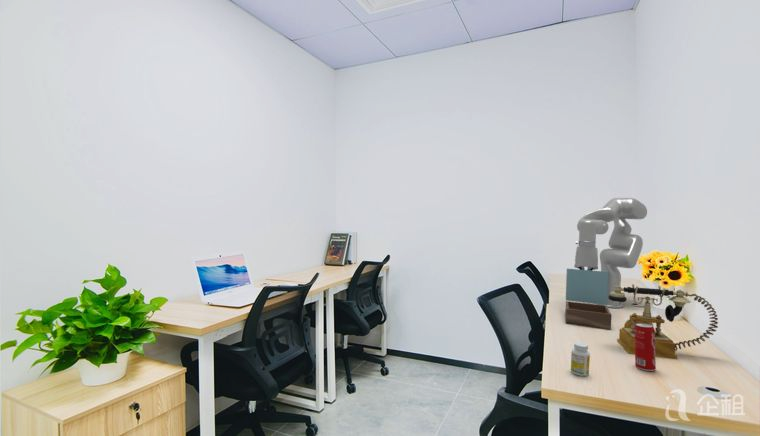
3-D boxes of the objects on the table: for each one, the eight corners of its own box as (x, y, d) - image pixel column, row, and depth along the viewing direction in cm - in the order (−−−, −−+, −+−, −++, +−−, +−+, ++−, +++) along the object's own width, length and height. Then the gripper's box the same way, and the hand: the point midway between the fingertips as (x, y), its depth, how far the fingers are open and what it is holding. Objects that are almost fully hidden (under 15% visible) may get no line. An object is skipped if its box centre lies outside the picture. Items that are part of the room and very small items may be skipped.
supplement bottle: (577, 376, 122) (578, 347, 121) (567, 369, 127) (568, 341, 127) (592, 376, 122) (593, 347, 122) (582, 368, 128) (583, 341, 127)
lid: (565, 300, 190) (565, 300, 191) (607, 305, 182) (606, 304, 183) (566, 268, 192) (566, 268, 193) (607, 271, 184) (607, 271, 185)
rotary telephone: (697, 346, 150) (701, 284, 149) (724, 364, 133) (728, 294, 132) (598, 336, 160) (601, 277, 159) (611, 351, 143) (614, 286, 142)
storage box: (565, 314, 190) (565, 301, 190) (606, 320, 183) (607, 305, 182) (566, 323, 176) (566, 309, 176) (610, 330, 168) (611, 314, 168)
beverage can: (655, 373, 125) (657, 329, 124) (631, 368, 129) (634, 325, 128) (655, 367, 130) (657, 324, 129) (633, 362, 134) (635, 320, 133)
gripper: (570, 244, 192) (569, 279, 193) (604, 246, 186) (603, 282, 186) (570, 242, 199) (568, 277, 200) (603, 244, 193) (601, 280, 193)
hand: (585, 279), depth 193 cm, fingers closed
